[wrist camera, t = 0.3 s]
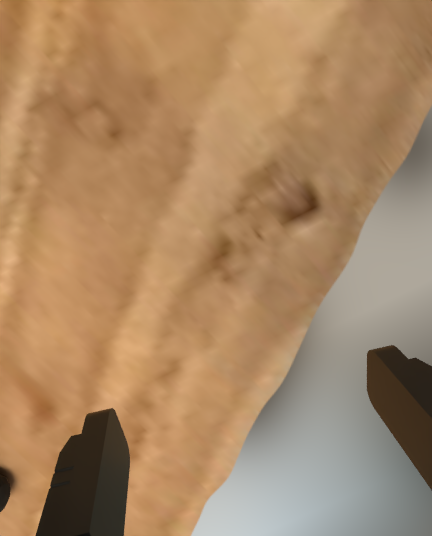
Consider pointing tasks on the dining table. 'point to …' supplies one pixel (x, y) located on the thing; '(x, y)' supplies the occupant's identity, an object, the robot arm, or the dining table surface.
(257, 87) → the dining table surface
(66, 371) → the dining table surface
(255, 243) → the dining table surface
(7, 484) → the microphone
